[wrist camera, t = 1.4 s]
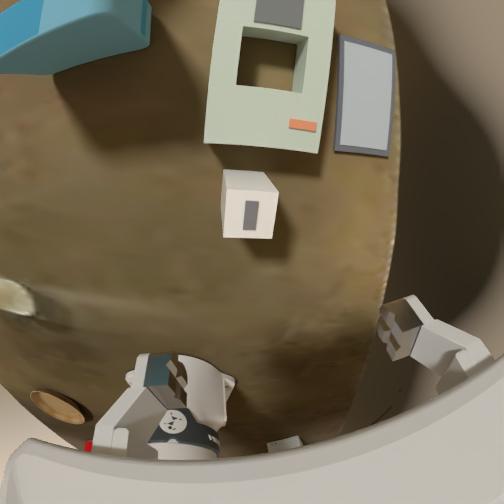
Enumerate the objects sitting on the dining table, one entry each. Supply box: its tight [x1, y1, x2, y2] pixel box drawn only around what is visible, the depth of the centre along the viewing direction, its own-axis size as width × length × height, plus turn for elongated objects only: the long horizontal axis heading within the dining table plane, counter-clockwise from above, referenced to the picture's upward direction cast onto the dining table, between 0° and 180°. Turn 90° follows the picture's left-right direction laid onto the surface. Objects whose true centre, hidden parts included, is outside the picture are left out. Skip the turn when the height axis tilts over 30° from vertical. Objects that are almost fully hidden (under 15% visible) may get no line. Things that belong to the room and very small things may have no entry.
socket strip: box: [204, 0, 336, 154], centre depth 20 cm, size 16×10×4 cm, turn 174°
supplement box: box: [267, 435, 303, 453], centre depth 57 cm, size 10×9×17 cm
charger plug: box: [221, 169, 279, 239], centre depth 24 cm, size 4×4×7 cm
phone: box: [333, 34, 395, 157], centre depth 24 cm, size 13×7×1 cm, turn 179°
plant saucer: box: [30, 389, 85, 424], centre depth 44 cm, size 15×15×3 cm
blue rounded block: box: [0, 0, 152, 75], centre depth 12 cm, size 12×4×12 cm, turn 90°
